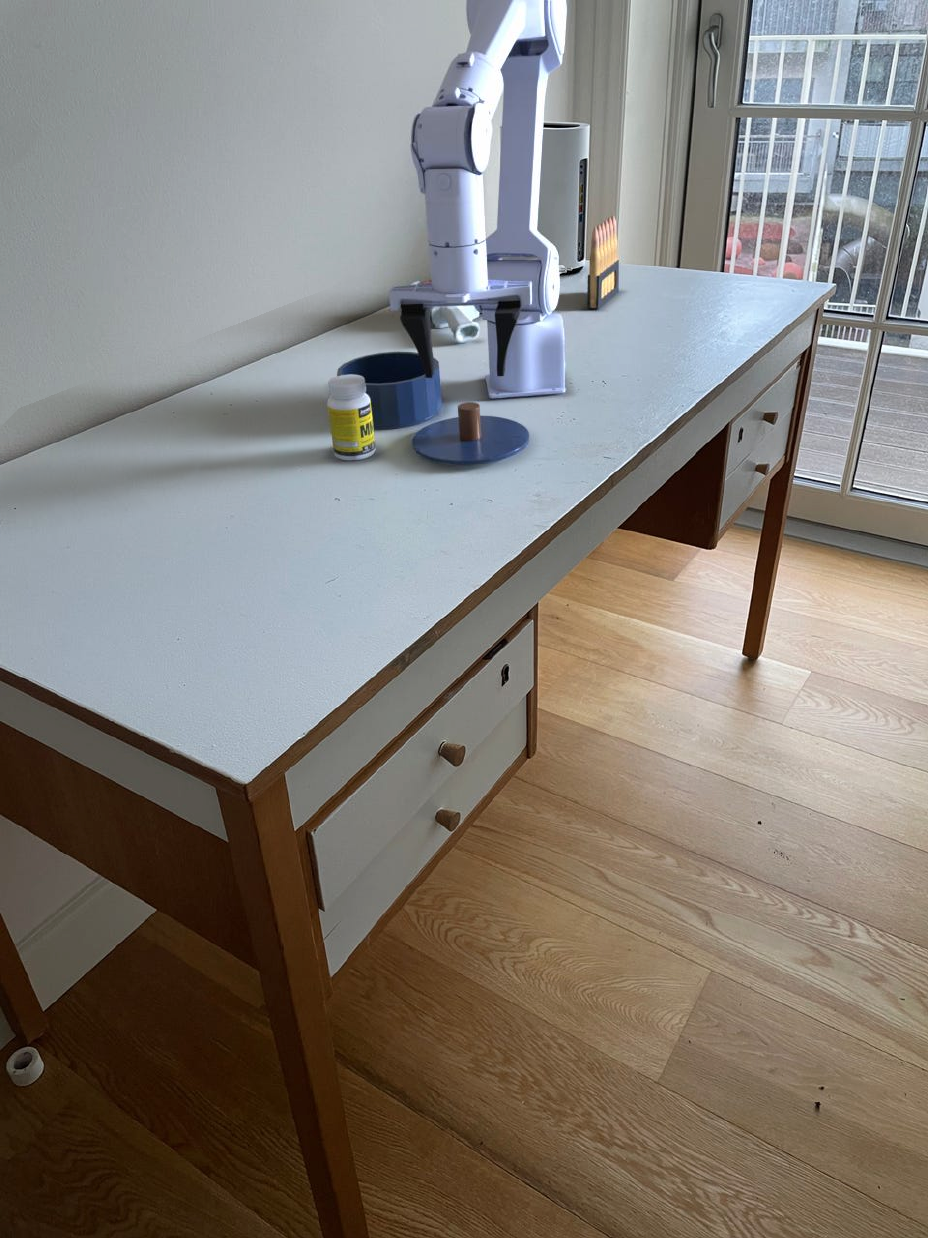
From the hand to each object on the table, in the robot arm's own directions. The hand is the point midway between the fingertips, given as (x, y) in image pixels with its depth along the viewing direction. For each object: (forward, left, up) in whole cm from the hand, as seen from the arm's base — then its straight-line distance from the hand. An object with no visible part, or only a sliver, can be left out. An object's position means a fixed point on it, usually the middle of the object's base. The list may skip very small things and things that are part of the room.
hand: (465, 374), depth 105 cm
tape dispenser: (0, -49, -8) cm, 50 cm away
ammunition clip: (-24, -55, -8) cm, 61 cm away
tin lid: (0, 0, -8) cm, 8 cm away
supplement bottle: (+13, 0, -8) cm, 15 cm away
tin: (+9, -13, -8) cm, 18 cm away
